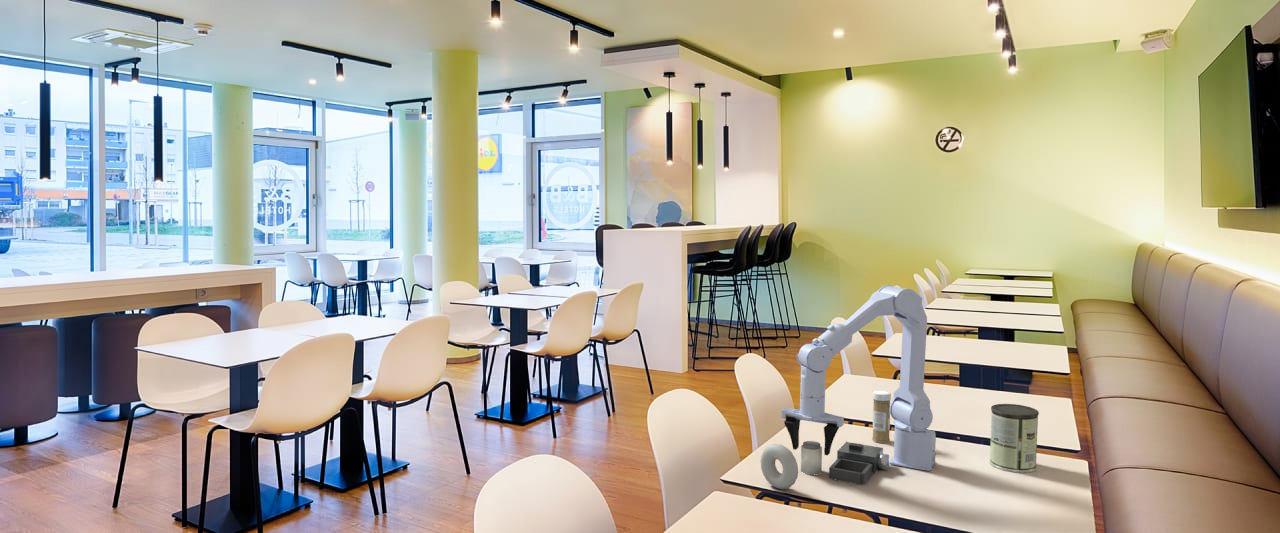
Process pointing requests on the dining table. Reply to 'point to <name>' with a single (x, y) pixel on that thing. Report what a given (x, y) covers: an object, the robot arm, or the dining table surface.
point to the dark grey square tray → (850, 471)
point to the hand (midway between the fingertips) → (811, 451)
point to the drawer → (864, 455)
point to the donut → (787, 463)
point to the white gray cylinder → (811, 458)
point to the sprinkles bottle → (881, 416)
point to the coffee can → (1014, 437)
